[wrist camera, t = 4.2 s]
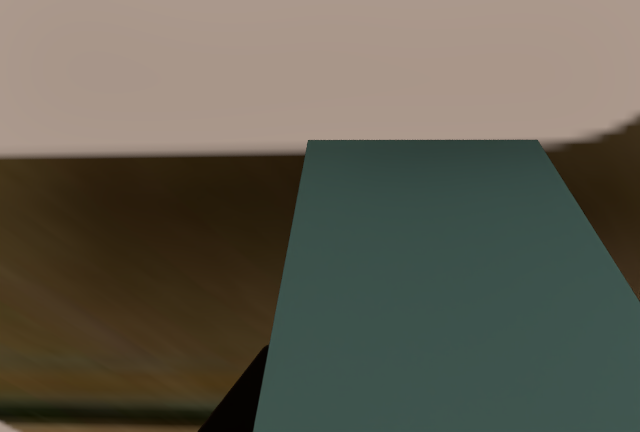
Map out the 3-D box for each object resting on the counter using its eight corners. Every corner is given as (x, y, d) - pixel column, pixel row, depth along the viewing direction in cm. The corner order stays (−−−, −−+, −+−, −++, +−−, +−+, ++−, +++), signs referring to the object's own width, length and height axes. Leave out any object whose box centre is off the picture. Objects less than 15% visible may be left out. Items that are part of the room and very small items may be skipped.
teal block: (505, 314, 12) (752, 1094, 4) (315, 311, 12) (241, 1042, 5) (537, 139, 10) (1110, 1045, 2) (307, 140, 10) (153, 956, 3)
